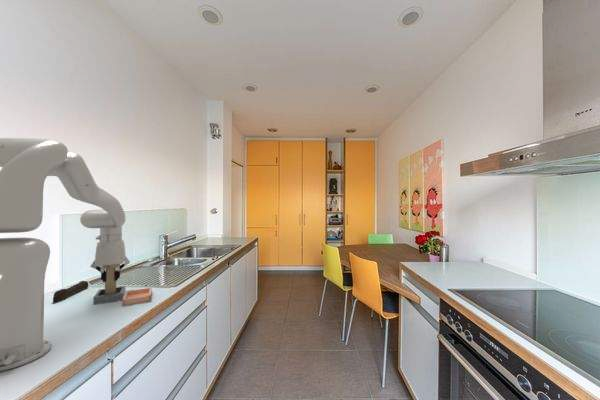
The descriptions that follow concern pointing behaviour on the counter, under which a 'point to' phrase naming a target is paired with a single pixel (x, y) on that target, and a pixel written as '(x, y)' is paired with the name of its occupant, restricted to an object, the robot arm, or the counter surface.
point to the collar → (109, 296)
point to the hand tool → (69, 291)
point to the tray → (137, 296)
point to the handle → (110, 279)
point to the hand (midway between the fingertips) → (110, 280)
